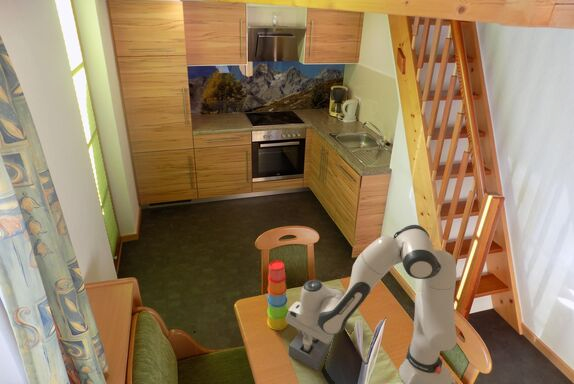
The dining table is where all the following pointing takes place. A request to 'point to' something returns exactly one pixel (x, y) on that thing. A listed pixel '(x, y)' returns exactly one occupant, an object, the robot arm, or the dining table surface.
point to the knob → (307, 344)
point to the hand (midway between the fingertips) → (307, 338)
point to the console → (311, 357)
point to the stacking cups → (277, 296)
